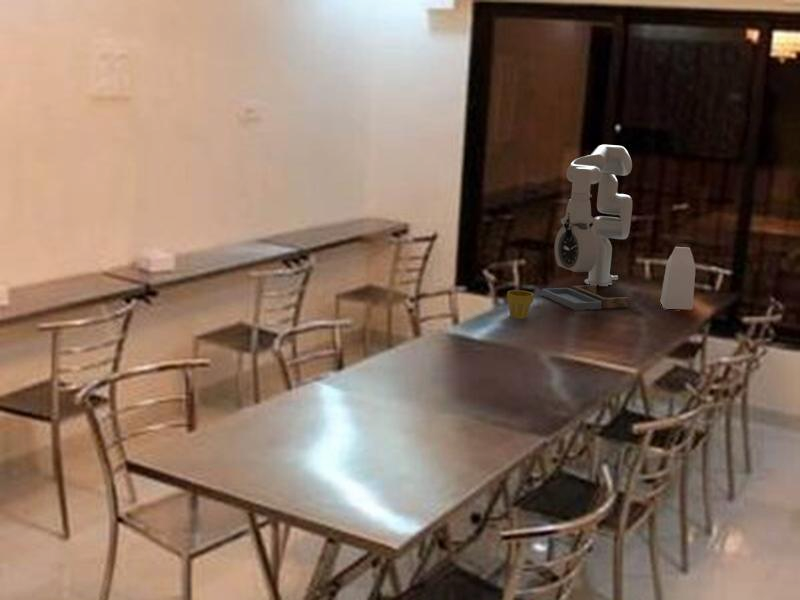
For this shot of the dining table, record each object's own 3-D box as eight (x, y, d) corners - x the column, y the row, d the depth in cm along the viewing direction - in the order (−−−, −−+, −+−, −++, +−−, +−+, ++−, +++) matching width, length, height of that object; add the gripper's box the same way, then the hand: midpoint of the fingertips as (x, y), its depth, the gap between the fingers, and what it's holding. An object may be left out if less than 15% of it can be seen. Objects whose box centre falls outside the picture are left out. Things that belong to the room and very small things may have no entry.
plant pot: (528, 321, 418) (530, 297, 416) (502, 318, 421) (504, 293, 419) (534, 315, 428) (536, 292, 426) (508, 312, 431) (510, 288, 429)
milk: (688, 305, 462) (694, 246, 456) (692, 311, 451) (699, 250, 445) (659, 303, 463) (666, 244, 457) (663, 309, 452) (670, 248, 446)
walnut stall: (594, 293, 475) (595, 285, 474) (627, 306, 452) (628, 297, 451) (571, 294, 470) (572, 286, 469) (603, 308, 448) (603, 298, 447)
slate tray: (567, 294, 470) (567, 287, 470) (601, 308, 446) (601, 301, 445) (541, 295, 465) (542, 288, 464) (574, 310, 441) (575, 303, 440)
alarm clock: (552, 263, 460) (556, 218, 456) (567, 263, 463) (571, 218, 459) (580, 274, 441) (585, 226, 437) (595, 273, 444) (600, 226, 440)
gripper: (593, 195, 452) (589, 236, 456) (557, 195, 445) (554, 237, 449) (602, 198, 445) (599, 239, 449) (567, 198, 439) (563, 240, 443)
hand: (576, 238), depth 449 cm, fingers closed on alarm clock, 7 cm apart
